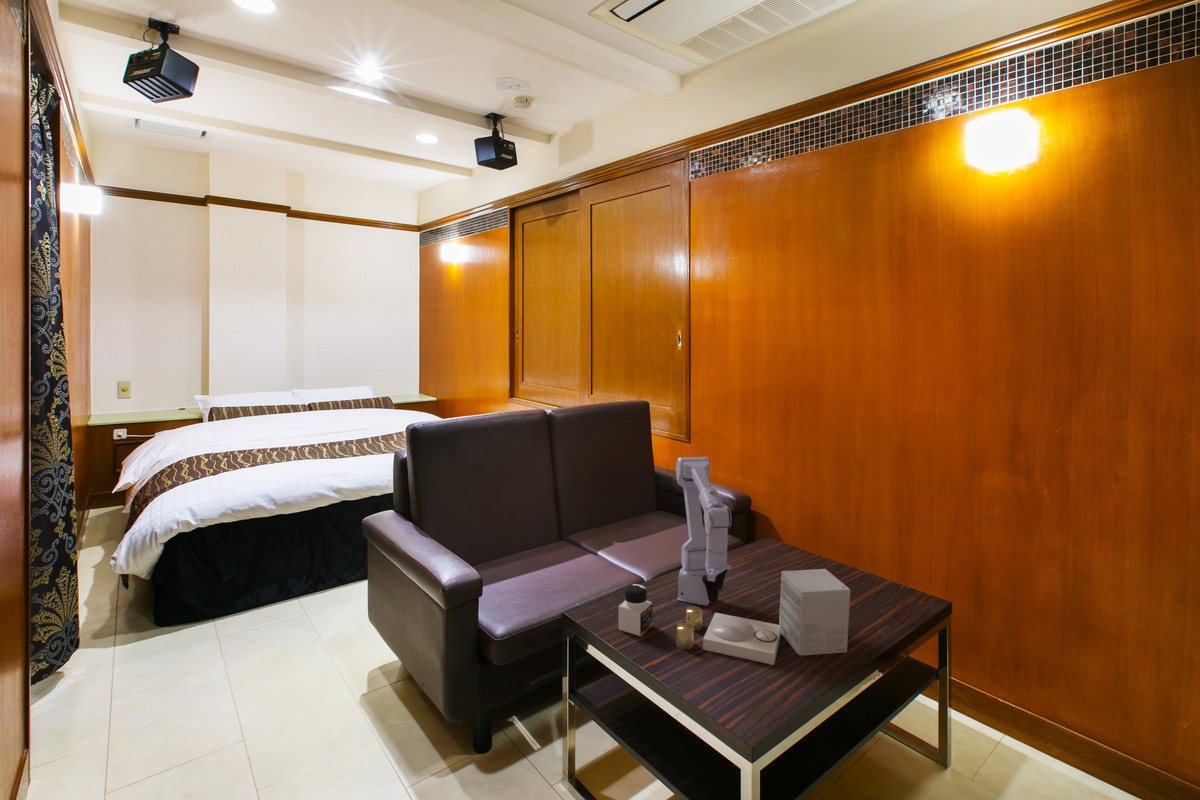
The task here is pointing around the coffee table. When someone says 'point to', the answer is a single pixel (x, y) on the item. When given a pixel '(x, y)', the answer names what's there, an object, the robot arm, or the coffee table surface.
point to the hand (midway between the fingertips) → (715, 595)
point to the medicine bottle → (635, 611)
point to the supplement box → (814, 611)
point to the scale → (743, 638)
